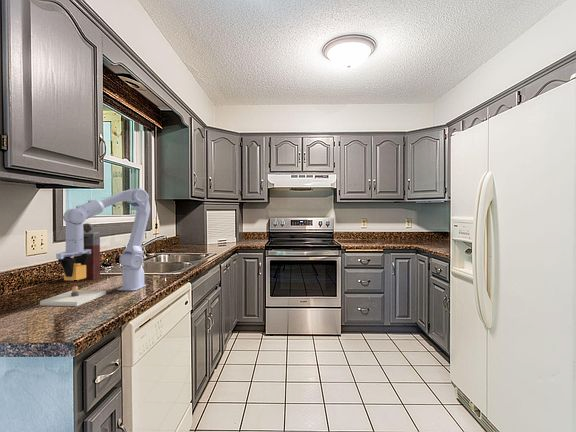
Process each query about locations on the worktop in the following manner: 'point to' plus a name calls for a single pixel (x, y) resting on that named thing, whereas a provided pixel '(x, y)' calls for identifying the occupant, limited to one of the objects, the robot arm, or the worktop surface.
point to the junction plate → (73, 297)
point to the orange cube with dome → (77, 272)
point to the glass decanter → (92, 252)
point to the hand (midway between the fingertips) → (74, 275)
